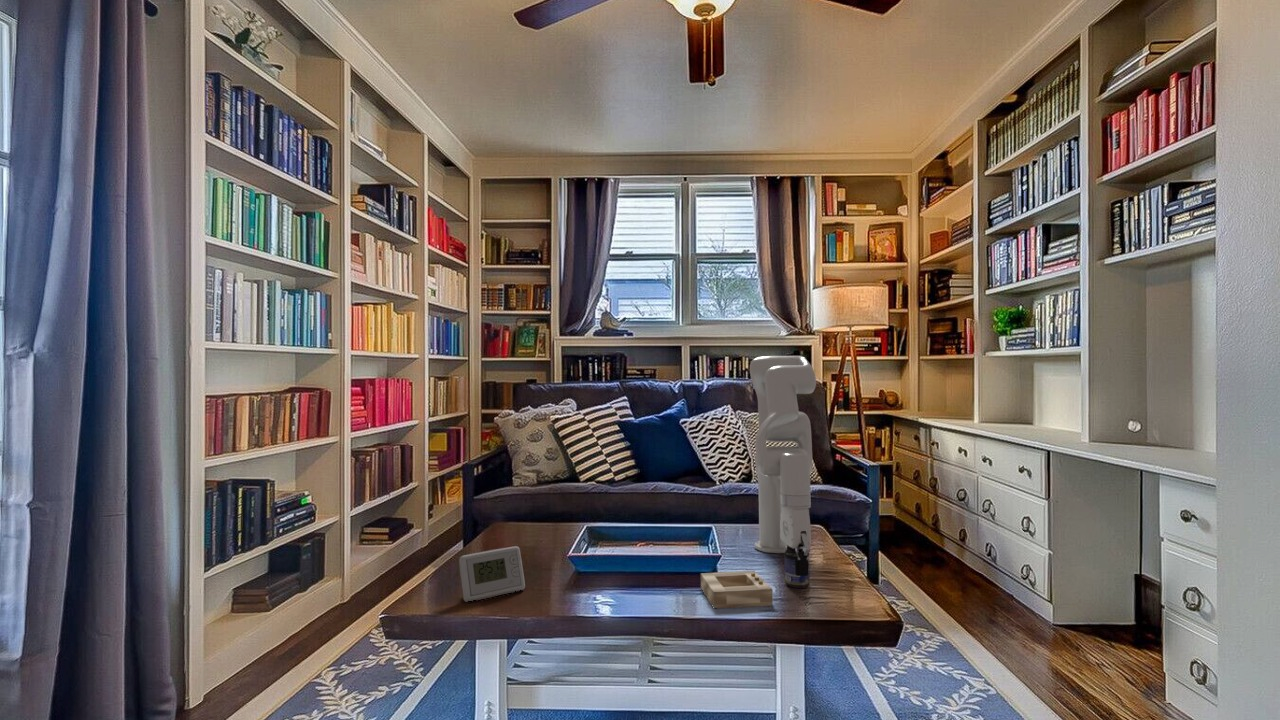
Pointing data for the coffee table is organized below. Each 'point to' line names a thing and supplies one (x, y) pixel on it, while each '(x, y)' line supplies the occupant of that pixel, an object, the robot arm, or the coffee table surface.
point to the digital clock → (491, 573)
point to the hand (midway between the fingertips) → (796, 570)
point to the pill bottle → (790, 575)
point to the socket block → (736, 589)
